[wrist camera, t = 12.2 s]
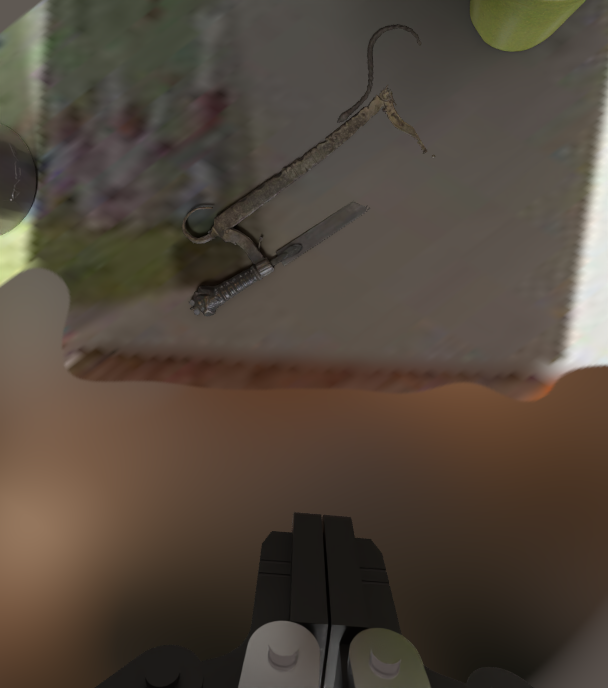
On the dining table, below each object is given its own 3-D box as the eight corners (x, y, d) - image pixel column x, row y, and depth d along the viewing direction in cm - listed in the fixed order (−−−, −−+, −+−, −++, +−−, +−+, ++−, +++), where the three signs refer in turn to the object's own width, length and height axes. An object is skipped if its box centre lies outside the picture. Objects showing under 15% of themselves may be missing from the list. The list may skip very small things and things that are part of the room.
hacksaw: (203, 323, 37) (196, 324, 36) (135, 211, 37) (125, 207, 36) (481, 140, 33) (486, 133, 31) (403, 14, 33) (405, 1, 31)
